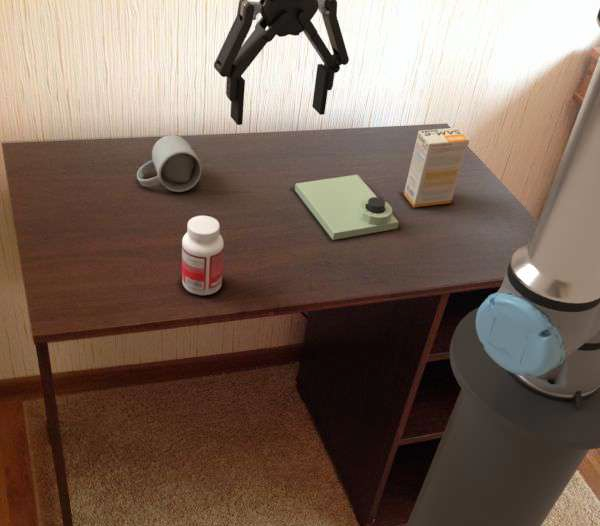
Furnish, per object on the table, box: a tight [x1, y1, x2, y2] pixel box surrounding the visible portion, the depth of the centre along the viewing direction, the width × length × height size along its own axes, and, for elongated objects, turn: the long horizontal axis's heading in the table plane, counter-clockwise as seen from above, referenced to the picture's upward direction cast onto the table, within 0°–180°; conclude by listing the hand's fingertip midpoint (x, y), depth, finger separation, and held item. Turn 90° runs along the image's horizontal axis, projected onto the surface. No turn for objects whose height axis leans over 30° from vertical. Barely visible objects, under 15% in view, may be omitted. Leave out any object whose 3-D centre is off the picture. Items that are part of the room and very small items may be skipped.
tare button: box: [367, 196, 386, 214], centre depth 132 cm, size 3×3×2 cm
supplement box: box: [403, 127, 470, 208], centre depth 137 cm, size 8×5×13 cm, turn 111°
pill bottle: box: [181, 215, 225, 296], centre depth 113 cm, size 6×6×11 cm
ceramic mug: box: [136, 134, 202, 193], centre depth 133 cm, size 11×8×8 cm
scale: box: [294, 174, 400, 241], centre depth 135 cm, size 16×13×3 cm
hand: (278, 115), depth 113 cm, fingers open, 13 cm apart
